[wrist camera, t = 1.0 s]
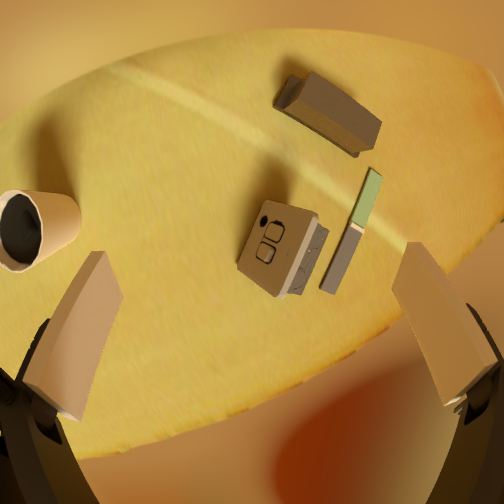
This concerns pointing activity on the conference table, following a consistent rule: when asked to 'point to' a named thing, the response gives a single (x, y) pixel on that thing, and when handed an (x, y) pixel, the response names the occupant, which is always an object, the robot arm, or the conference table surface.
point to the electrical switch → (282, 248)
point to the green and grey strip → (352, 233)
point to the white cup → (35, 227)
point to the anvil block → (329, 113)
